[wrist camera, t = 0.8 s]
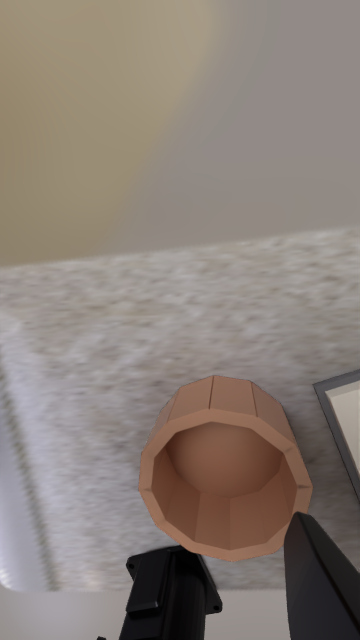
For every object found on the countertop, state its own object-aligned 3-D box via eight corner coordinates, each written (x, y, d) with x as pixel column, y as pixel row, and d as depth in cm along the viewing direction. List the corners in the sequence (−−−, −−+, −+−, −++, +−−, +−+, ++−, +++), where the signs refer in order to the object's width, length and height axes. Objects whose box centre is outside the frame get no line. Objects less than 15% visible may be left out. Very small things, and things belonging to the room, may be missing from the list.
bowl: (312, 479, 22) (335, 540, 17) (189, 510, 24) (178, 572, 19) (262, 358, 21) (271, 386, 16) (137, 402, 23) (113, 439, 18)
